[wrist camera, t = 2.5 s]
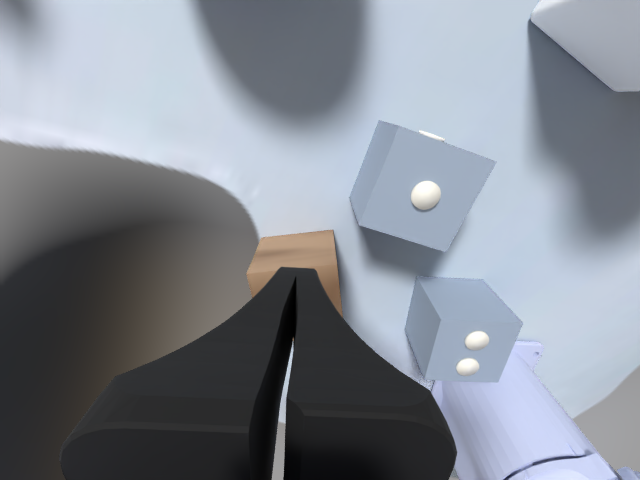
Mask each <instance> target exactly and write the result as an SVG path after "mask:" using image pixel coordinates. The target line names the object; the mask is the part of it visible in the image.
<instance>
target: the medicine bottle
mask: <svg viewBox="0 0 640 480" xmlns="http://www.w3.org/2000/svg"><path fill="white" fill-rule="evenodd" d="M531 21H532V22H533V23H534V24H535V25H536V26H537V27H539V28H540V29H541V30H542V31H543V32H545V33H546V34H547V35H548V36H549V37H550V38H552V39H553V40H554V41H555V42H556V43H558V44H559V45H560V46H561V47H562V48H563V49H565V50H566V51H567V52H568V53H569V54H570V55H572V56H573V57H574V58H575V59H576V60H578V61H579V62H580V63H581V64H582V65H583V66H585V67H586V68H587V69H588V70H589V71H591V72H592V73H593V74H594V75H595V76H596V77H598V78H599V79H600V80H601V81H602V82H603V83H605V84H606V85H607V86H608V87H609V88H611V89H612V90H614V91H617V92H626V91H640V0H540V1H539V3H538V4H537V6H536V7H535V9H534V10H533V11H532V13H531Z"/></svg>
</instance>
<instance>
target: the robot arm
mask: <svg viewBox="0 0 640 480" xmlns="http://www.w3.org/2000/svg"><path fill="white" fill-rule="evenodd" d="M293 337H294V352H293V359H292V366H291V373H290V379H289V386H288V392H287V399H286V429H285V459H284V478H283V479H284V480H448V479H449V477H450V475H451V473H452V470H453V468H454V467H455V470H456V473H457V475H458V478H459V480H640V472H637V471H633V470H632V469H631V468H629V467H623V468H620V469H618V470H617V471H618V473H619V474H620V475H619V474H618V473H617V472H616V471H615V470H614V469H613V468H612V467H611V466H610V465H609V464H608V463H607V462H606V461H605V460H604V459H603V457H602V456H601V455H600V454H599V452H598V451H597V450H596V449H595V447H594V446H593V445H592V444H591V442H590V441H589V440H588V439H587V437H586V436H585V435H584V434H583V432H582V431H581V430H580V429H579V427H578V426H577V425H576V424H575V423H574V421H573V420H572V419H571V418H570V416H569V415H568V414H567V413H566V411H565V410H564V409H563V408H562V406H561V405H560V404H559V403H558V401H557V400H556V399H555V398H554V396H553V395H552V394H551V393H550V391H549V390H548V389H547V388H546V386H545V385H544V384H543V383H542V381H541V380H540V379H539V378H538V376H537V375H536V374H535V373H534V369H535V367H536V365H537V363H538V361H539V358H540V356H541V354H542V352H543V350H544V346H543V345H542V344H541V343H540V342H525V341H515V344H514V346H513V349H512V351H511V353H510V356H509V358H508V361H507V363H506V365H505V368H504V370H503V372H502V375H501V377H500V380H499V382H498V383H496V382H467V381H438V380H435V381H434V385H433V388H432V391H430V390H428V389H427V388H425V387H424V386H422V385H420V384H419V383H417V382H416V381H414V380H413V379H411V378H410V377H408V376H406V375H405V374H403V373H402V372H400V371H399V370H397V369H396V368H395V367H393V366H392V365H391V364H390V363H388V362H387V361H386V360H384V359H383V358H382V357H381V356H379V355H378V354H377V353H376V352H375V351H373V350H372V349H371V348H370V347H369V346H368V345H367V344H366V343H365V342H364V341H363V340H361V338H360V337H359V336H358V335H357V334H356V333H355V332H354V331H353V330H352V329H351V328H350V326H349V325H348V324H347V323H346V322H345V320H344V319H343V318H342V316H341V315H340V314H339V312H338V311H337V309H336V308H335V306H334V305H333V303H332V302H331V300H330V298H329V297H328V295H327V293H326V291H325V290H324V288H323V286H322V284H321V281H320V279H319V276H318V273H317V271H316V270H315V269H314V268H296V267H280V268H279V269H278V270H277V271H276V273H275V274H274V275H273V276H272V278H271V279H270V280H269V281H268V282H267V283H266V285H265V286H264V287H263V288H262V289H261V290H260V291H259V292H258V293H257V294H256V295H255V296H254V297H253V298H252V299H251V300H250V301H249V302H248V303H247V304H246V305H245V306H243V307H242V309H240V310H239V311H238V312H237V313H235V314H234V315H233V316H232V317H230V318H229V319H228V320H226V321H225V322H224V323H222V324H221V325H219V326H218V327H216V328H215V329H213V330H211V331H210V332H208V333H206V334H205V335H203V336H202V337H200V338H199V339H197V340H195V341H193V342H192V343H190V344H188V345H186V346H184V347H182V348H180V349H178V350H176V351H174V352H172V353H170V354H168V355H166V356H164V357H161V358H159V359H157V360H155V361H152V362H150V363H148V364H145V365H143V366H140V367H138V368H136V369H133V370H131V371H128V372H126V373H123V374H121V375H118V376H115V377H114V379H113V380H112V381H111V382H110V383H109V385H108V386H107V387H106V388H105V389H104V390H103V391H102V393H101V394H100V395H99V396H98V398H97V399H96V400H95V402H94V403H93V404H92V406H91V407H90V409H89V410H88V411H87V413H86V414H85V415H84V417H83V418H82V419H81V420H80V422H79V423H78V424H77V426H76V427H75V428H74V430H73V431H72V432H71V434H70V435H69V436H68V438H67V439H66V440H65V442H64V443H63V444H62V447H61V451H60V455H59V459H60V463H61V468H62V472H63V475H64V477H65V479H66V480H271V479H272V471H273V462H274V453H275V444H276V434H277V425H278V417H279V408H280V402H281V396H282V390H283V385H284V381H285V376H286V371H287V366H288V361H289V357H290V352H291V347H292V342H293Z"/></svg>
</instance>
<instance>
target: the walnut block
mask: <svg viewBox="0 0 640 480" xmlns="http://www.w3.org/2000/svg"><path fill="white" fill-rule="evenodd" d="M280 267H296V268H314V269H315V270H316V271H317V273H318V276H319V279H320V281H321V284H322V286H323V288H324V290H325V291H326V293H327V295H328V297H329V298H330V300H331V302H332V303H333V305H334V306H335V308H336V309H337V311H338V312H339V314H340V315H341V316H342V318H343V315H342V305H341V296H340V287H339V277H338V268H337V259H336V251H335V243H334V234H333V230H326V231H317V232H308V233H299V234H290V235H281V236H272V237H263V238H261V240H260V242H259V245H258V247H257V250H256V252H255V254H254V257H253V259H252V262H251V264H250V266H249V269H248V271H247V273H246V274H247V278H248V282H249V286H250V290H251V294H252V298H253V297H254V296H255V295H256V294H257V293H258V292H259V291H260V290H261V289H262V288H263V287H264V286H265V285H266V283H267V282H268V281H269V280H270V279H271V278H272V276H273V275H274V274H275V273H276V271H277V270H278V269H279V268H280ZM293 341H294V337H293Z"/></svg>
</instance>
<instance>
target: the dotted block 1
mask: <svg viewBox="0 0 640 480" xmlns="http://www.w3.org/2000/svg"><path fill="white" fill-rule="evenodd" d="M444 141H445V139H444V138H441V137H439V136H436V135H433V134H430V133H427V132H424V131H421V130H420V131H419V133H417V132H414V131H412V130H409V129H406V128H404V127H401V126H398V125H394V124H391V123H387V122H383V121H380V120H379V121H378V124H377V127H376V129H375V132H374V135H373V137H372V140H371V142H370V145H369V148H368V150H367V153H366V155H365V158H364V161H363V163H362V166H361V168H360V171H359V174H358V176H357V179H356V182H355V184H354V187H353V189H352V192H351V195H350V197H349V198H350V201H351V204H352V207H353V210H354V213H355V216H356V219H357V222H358V225H360V226H363V227H366V228H369V229H373V230H376V231H379V232H382V233H386V234H389V235H392V236H395V237H398V238H402V239H405V240H408V241H411V242H414V243H418V244H421V245H424V246H427V247H431V248H434V249H437V250H440V251H443V252H447V250H448V248H449V246H450V244H451V243H452V241H453V239H454V237H455V235H456V234H457V232H458V230H459V228H460V227H461V225H462V223H463V221H464V219H465V218H466V216H467V214H468V212H469V211H470V209H471V207H472V205H473V203H474V202H475V200H476V198H477V196H478V194H479V193H480V191H481V189H482V187H483V186H484V184H485V182H486V180H487V178H488V177H489V175H490V173H491V171H492V170H493V168H494V166H495V164H496V161H494V160H491V159H488V158H485V157H483V156H480V155H477V154H474V153H472V152H469V151H466V150H464V149H461V148H458V147H455V146H453V145H450V144H447V143H444Z"/></svg>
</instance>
